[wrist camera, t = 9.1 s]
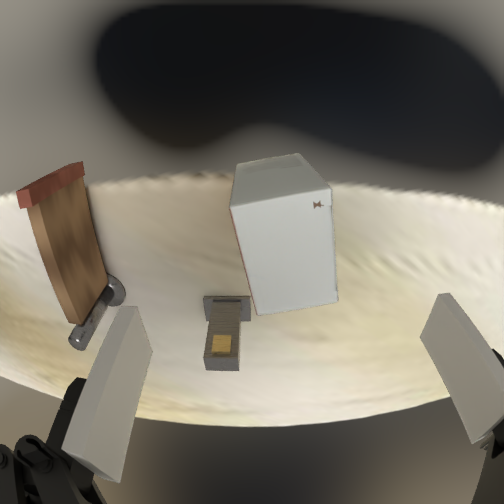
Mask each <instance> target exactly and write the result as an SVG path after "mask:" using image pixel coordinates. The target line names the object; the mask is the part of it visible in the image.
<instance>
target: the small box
mask: <svg viewBox="0 0 504 504" xmlns="http://www.w3.org/2000/svg"><path fill="white" fill-rule="evenodd" d="M229 210H230V214H231V218H232V221H233V225H234V229H235V233H236V237H237V241H238V245H239V249H240V253H241V257H242V261H243V264H244V268H245V272H246V276H247V280H248V284H249V288H250V291H251V295H252V299H253V303H254V307H255V310H256V315H258V316H259V315H267V314H274V313H280V312H286V311H292V310H298V309H304V308H309V307H315V306H320V305H326V304H331V303H336V302H338V289H337V273H336V254H335V237H334V222H333V199H332V188H331V187H330V186H329V185H328V184H327V182H326V181H325V180H324V179H323V178H322V177H321V176H320V175H319V174H318V173H317V171H316V170H315V169H314V168H313V167H312V166H311V165H310V164H309V163H308V162H307V161H306V160H305V159H304V158H303V157H302V155H300V153H295V154H289V155H283V156H277V157H271V158H266V159H260V160H254V161H249V162H244V163H239V164H237V165H236V170H235V176H234V182H233V187H232V193H231V199H230V205H229Z"/></svg>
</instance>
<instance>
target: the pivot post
mask: <svg viewBox="0 0 504 504" xmlns="http://www.w3.org/2000/svg"><path fill="white" fill-rule="evenodd" d="M106 275H107V278H108V283H107V284H106V286H105V288H104V289H103V291H102V292H101V294H100V295H99V297H98V298H97V300H96V302H95V303H94V305H93V306H92V308H91V310H90V311H89V313H88V315H87V316H86V318H85V320H84V321H83V323H82V325H80V324H76V326H75V328H74V329H73V331H72V333H71V334H70V336H69V338H68V341H69V343H70V344H71V345H72V346H73V347H74V348H75V349H77V350H80V351H84V350H85V349H86V347H87V345H88V343H89V341H90V339H91V337H92V335H93V333H94V332H95V330H96V328H97V326H98V324H99V322H100V320H101V319H102V317H103V315H104V313H105V311H106V310H107V308H108V306H118V305H120V304H121V303H122V302H123V300H124V298H125V289H124V287H123V285H122V284H121V282H120V281H119V280H118V279H117V278H115V277H114V276H112V275H109V274H106Z"/></svg>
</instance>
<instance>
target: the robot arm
mask: <svg viewBox="0 0 504 504" xmlns="http://www.w3.org/2000/svg"><path fill="white" fill-rule="evenodd" d="M420 339H421V340H422V342H423V344H424V346H425V348H426V349H427V351H428V353H429V355H430V357H431V359H432V360H433V362H434V364H435V366H436V368H437V370H438V372H439V374H440V376H441V378H442V380H443V382H444V384H445V386H446V388H447V390H448V392H449V394H450V396H451V398H452V400H453V402H454V404H455V406H456V409H457V410H458V413H459V415H460V417H461V420H462V421H463V424H464V427H465V429H466V431H467V433H468V436H469V438H470V441H471V443H472V444H473V443H475V442H477V441H479V440H480V439H482V438H484V437H485V436H486V435H487V434H488V433H490V432H491V431H493V434H492V435H491V436H490V437H489V438H487V439H486V440H485V441H484V442H483V443H482V444H481V446H480V448H483V447H484V446H485V445H487V444H488V443H489V444H488V445H487V446H486V447H485V448H484V450H487V453H486V457H485V461H484V465H483V469H482V472H481V476H480V480H479V483H478V486H477V489H476V492H475V495H474V497H473V500H472V503H471V504H504V359H503V358H502V356H501V355H500V354H499V353H498V352H497V351H495V350H494V349H491V348H490V346H489V345H488V343H487V342H486V340H485V339H484V338H483V336H482V335H481V333H480V332H479V331H478V329H477V328H476V326H475V325H474V324H473V322H472V321H471V320H470V318H469V317H468V316H467V314H466V313H465V312H464V310H463V309H462V308H461V306H460V305H459V304H458V303H457V301H456V300H455V299H454V298H453V296H452V295H451V294H450V293H444V294H438V296H437V298H436V301H435V303H434V306H433V308H432V311H431V313H430V315H429V318H428V320H427V322H426V325H425V327H424V329H423V331H422V333H421V335H420ZM152 352H153V351H152V349H151V346H150V343H149V340H148V337H147V335H146V332H145V329H144V326H143V323H142V320H141V317H140V314H139V310H138V307H136V306H121V307H120V309H119V311H118V313H117V315H116V317H115V319H114V321H113V323H112V325H111V327H110V329H109V331H108V333H107V335H106V337H105V340H104V342H103V344H102V346H101V348H100V350H99V353H98V355H97V357H96V359H95V362H94V364H93V366H92V369H91V371H90V373H89V376H88V378H87V379H83V378H78V377H77V378H76V379H75V380H74V381H73V382H72V383H71V384H70V385H69V386H68V388H67V391H66V393H65V395H64V398H63V399H64V400H63V401H62V403H61V405H60V410H58V413H57V415H56V418H55V420H54V423H53V425H52V428H51V431H50V433H49V437H48V439H47V441H46V443H44V442H43V441H41V440H40V439H39V438H38V437H37V436H34V435H25V436H23V437H22V438H20V439H19V440H18V442H17V443H16V445H15V449H14V451H12V450H11V449H9V448H8V447H7V446H6V445H3V444H0V504H107V503H106V501H105V499H104V498H103V496H102V494H101V492H100V490H99V489H98V487H97V485H96V483H95V482H94V480H93V476H94V474H96V475H97V476H99V477H100V478H102V479H106V480H109V481H113V482H117V483H120V481H121V475H122V470H123V466H124V461H125V456H126V451H127V447H128V442H129V438H130V434H131V430H132V426H133V422H134V418H135V414H136V410H137V406H138V402H139V398H140V395H141V391H142V387H143V384H144V380H145V376H146V373H147V369H148V366H149V363H150V359H151V356H152Z"/></svg>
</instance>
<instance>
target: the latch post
mask: <svg viewBox="0 0 504 504" xmlns="http://www.w3.org/2000/svg"><path fill="white" fill-rule="evenodd" d="M203 301H204V308H205V315H206V321H209V326H208V332H207V338H206V344H205V351H204V357H203V358H204V363H205V368H206V370H213V371H239V362H240V335H241V321H251V312H250V296H204V298H203Z"/></svg>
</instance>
